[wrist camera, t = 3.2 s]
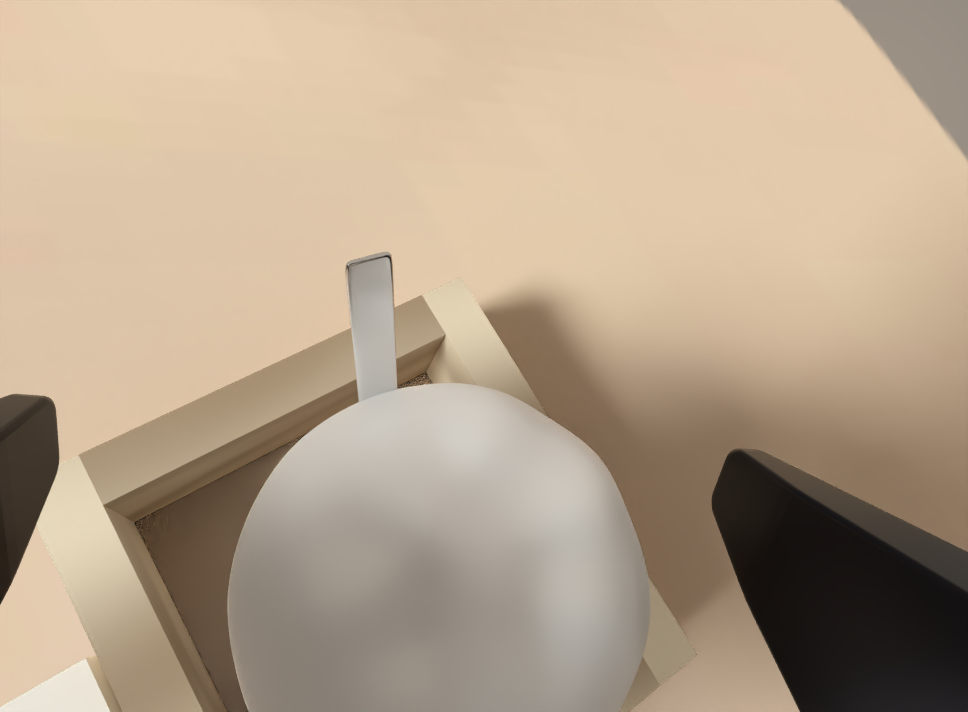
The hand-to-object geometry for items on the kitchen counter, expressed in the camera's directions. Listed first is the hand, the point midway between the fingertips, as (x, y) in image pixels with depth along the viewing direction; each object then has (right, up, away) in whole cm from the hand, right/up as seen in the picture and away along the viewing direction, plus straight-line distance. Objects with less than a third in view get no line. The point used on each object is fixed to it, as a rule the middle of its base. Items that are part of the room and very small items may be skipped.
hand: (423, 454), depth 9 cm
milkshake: (-2, -4, +6) cm, 7 cm away
